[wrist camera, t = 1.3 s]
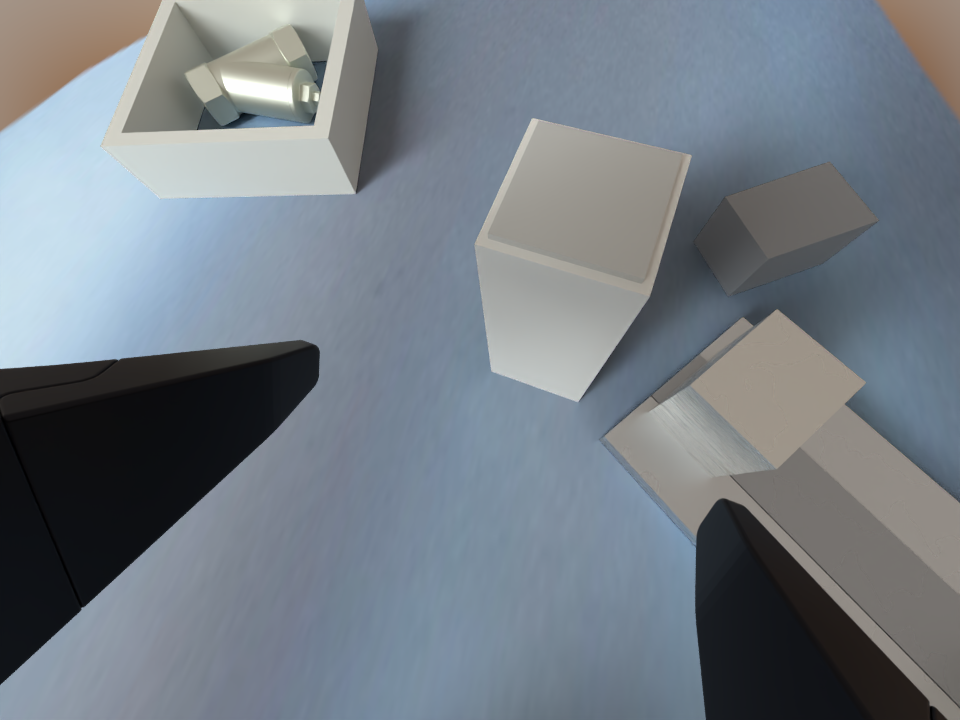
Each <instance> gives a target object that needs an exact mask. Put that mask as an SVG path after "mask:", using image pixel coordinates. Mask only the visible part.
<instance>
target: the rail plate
mask: <svg viewBox="0 0 960 720" xmlns="http://www.w3.org/2000/svg"><path fill="white" fill-rule="evenodd" d="M865 384H866V382H865V381H864V380H862V379H861V378H860V377H859V376H858V375H856V374H855V373H854V372H853V371H852V370H850V369H849V368H848V367H847V366H845V365H844V364H843V363H842V362H841V361H839V360H838V359H837V358H836V357H835V356H833V355H832V354H831V353H830V352H829V351H827V350H826V349H825V348H824V347H822V346H821V345H820V344H819V343H818V342H816V341H815V340H814V339H813V338H812V337H810V336H809V335H808V334H807V333H806V332H804V331H803V330H802V329H801V328H799V327H798V326H797V325H796V324H795V323H793V322H792V321H791V320H790V319H789V318H787V317H786V316H785V315H784V314H782V313H781V312H780V311H779V310H778V309H776V310H775V311H774V312H772V313H771V314H770V315H768V316H767V317H765V318H764V319H763V320H761V321H760V322H759V323H757V324H756V325H754V326H753V325H752V324H751V323H749V322H748V321H747V320H746V319H745V318H744V317H742V318H741V319H740V320H738V321H737V322H736V323H735V324H733V325H732V326H731V327H730V328H729V329H727V330H726V331H725V332H724V333H723V334H722V335H720V336H719V337H718V338H717V339H716V340H715V341H714V342H712V343H711V344H710V345H709V346H708V347H707V348H705V349H704V350H703V351H702V352H701V353H700V354H698V355H697V356H696V357H695V358H694V359H693V360H691V361H690V362H689V363H688V364H687V365H686V366H685V367H683V368H682V369H681V370H680V371H679V372H678V373H676V374H675V375H674V376H673V377H672V378H671V379H669V380H668V381H667V382H666V383H665V384H664V385H662V386H661V387H660V388H659V389H658V390H657V391H655V392H654V393H653V394H652V395H651V396H650V397H649V398H647V399H646V400H645V401H644V402H643V403H642V404H640V405H639V406H638V407H637V408H636V409H635V410H633V411H632V412H631V413H630V414H629V415H628V416H626V417H625V418H624V419H623V420H622V421H621V422H620V423H618V424H617V425H616V426H615V427H614V428H613V429H611V430H610V431H609V432H608V433H607V434H606V435H604V436H603V437H602V438H601V439H600V441H601V442H602V443H603V444H604V446H605V447H606V448H607V449H608V450H609V451H610V452H611V453H612V454H613V456H614V457H615V458H616V459H617V460H618V461H619V462H620V463H621V464H622V466H623V467H624V468H625V469H626V470H627V471H628V472H629V473H630V474H631V475H632V477H633V478H634V479H635V480H636V481H637V482H638V483H639V484H640V485H641V487H642V488H643V489H644V490H645V491H646V492H647V493H648V494H649V495H650V497H651V498H652V499H653V500H654V501H655V502H656V503H657V504H658V505H659V507H660V508H661V509H662V510H663V511H664V512H665V513H666V514H667V515H668V517H669V518H670V519H671V520H672V521H673V522H674V523H675V524H676V525H677V527H678V528H679V529H680V530H681V531H682V532H683V533H684V534H685V535H686V536H687V538H688V539H689V540H690V541H691V542H692V543H693V544H694V545H695V546H696V535H697V531H698V528H699V526H700V524H701V522H702V521H703V520H704V518H705V517H706V515H707V514H708V512H709V511H710V509H711V508H712V506H713V505H714V504H715V502H716V501H717V500H718V499H721V498H726V499H728V500H731V501H734V502H736V503H739V504H742V505H744V506H745V507H746V508H747V509H748V510H749V511H750V512H751V513H752V514H753V515H754V516H755V517H756V518H757V519H758V520H759V522H760V523H761V524H762V525H763V526H764V527H765V528H766V529H767V530H768V531H769V532H770V533H771V534H772V535H773V536H774V537H775V538H776V539H777V540H778V542H779V543H780V544H781V545H782V546H783V547H784V548H785V549H786V550H787V551H788V552H789V553H790V554H791V555H792V556H793V557H794V558H795V559H796V561H797V562H798V563H799V564H800V565H801V566H802V567H803V568H804V569H805V570H806V571H807V572H808V573H809V574H810V575H811V576H812V577H813V578H814V580H815V581H816V582H817V583H818V584H819V585H820V586H821V587H822V588H823V589H824V590H825V591H826V592H827V593H828V594H829V595H830V596H831V597H832V598H833V600H834V601H835V602H836V603H837V604H838V605H839V606H840V607H841V608H842V609H843V610H844V611H845V612H846V613H847V614H848V615H849V616H850V617H851V618H852V620H853V621H854V622H855V623H856V624H857V625H858V626H859V627H860V628H861V629H862V630H863V631H864V632H865V633H866V634H867V635H868V636H869V637H870V639H871V640H872V641H873V642H874V643H875V644H876V645H877V646H878V647H879V648H880V649H881V650H882V651H883V652H884V653H885V654H886V655H887V656H888V657H889V659H890V660H891V661H892V662H893V663H894V664H895V665H896V666H897V667H898V668H899V669H900V670H901V671H902V672H903V673H904V674H905V675H906V676H907V677H908V679H909V680H910V681H911V682H912V683H913V684H914V685H915V686H916V687H917V688H918V689H919V690H920V691H921V692H922V693H923V694H924V695H925V696H926V698H927V699H928V700H929V702H930V706H934V707H936V708H937V709H938V710H939V711H940V712H941V713H942V714H943V715H944V716H945V717H946V718H947V720H960V503H959V502H958V501H957V500H956V499H955V498H953V497H952V496H951V495H950V494H949V493H948V492H946V491H945V490H944V489H943V488H942V487H941V486H939V485H938V484H937V483H936V482H935V481H934V480H932V479H931V478H930V477H929V476H928V475H927V474H925V473H924V472H923V471H922V470H921V469H920V468H918V467H917V466H916V465H915V464H914V463H913V462H911V461H910V460H909V459H908V458H907V457H906V456H904V455H903V454H902V453H901V452H900V451H899V450H897V449H896V448H895V447H894V446H893V445H892V444H890V443H889V442H888V441H887V440H886V439H885V438H883V437H882V436H881V435H880V434H879V433H878V432H876V431H875V430H874V429H873V428H872V427H871V426H869V425H868V424H867V423H866V422H865V421H864V420H862V419H861V418H860V417H859V416H858V415H857V414H855V413H854V412H853V411H852V410H851V409H850V408H848V407H847V406H846V405H845V403H846V402H847V401H848V400H849V399H850V398H851V397H852V396H853V395H854V394H855V393H856V392H857V391H858V390H859V389H860V388H861V387H862V386H864V385H865Z"/></svg>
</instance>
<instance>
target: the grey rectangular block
mask: <svg viewBox="0 0 960 720" xmlns="http://www.w3.org/2000/svg"><path fill="white" fill-rule="evenodd" d="M878 221H879V220H878V219H877V217H876V216H875V215H874V214H873V213H872V211H871V210H870V209H869V208H868V207H867V205H866V204H865V203H864V202H863V201H862V199H861V198H860V197H859V196H858V195H857V193H856V192H855V191H854V190H853V189H852V188H851V186H850V185H849V184H848V183H847V182H846V180H845V179H844V178H843V177H842V176H841V174H840V173H839V172H838V171H837V170H836V168H835V167H834V166H833V165H832V164H831V162H827V163H824V164H821V165H818V166H815V167H812V168H809V169H806V170H803V171H800V172H797V173H794V174H791V175H789V176H786V177H783V178H780V179H777V180H774V181H771V182H768V183H765V184H762V185H759V186H756V187H753V188H750V189H747V190H744V191H741V192H738V193H735V194H732V195H729V196H726V197H725V198H724V199H723V201H722V202H721V203H720V205H719V206H718V208H717V209H716V210H715V212H714V213H713V215H712V216H711V218H710V219H709V220H708V222H707V223H706V225H705V226H704V228H703V229H702V230H701V232H700V233H699V235H698V236H697V237H696V239H695V240H694V243H695V245H696V246H697V248H698V250H699V251H700V253H701V254H702V256H703V258H704V259H705V261H706V262H707V264H708V266H709V267H710V269H711V270H712V272H713V274H714V275H715V277H716V278H717V280H718V282H719V283H720V285H721V286H722V288H723V290H724V291H725V293H726V294H727V296H728V297H729V296H732V295H735V294H738V293H741V292H743V291H746V290H749V289H752V288H755V287H758V286H761V285H763V284H766V283H769V282H772V281H775V280H778V279H781V278H783V277H786V276H789V275H792V274H795V273H798V272H801V271H803V270H806V269H809V268H812V267H815V266H818V265H821V264H823V263H824V262H826V261H827V260H828V259H830V258H831V257H832V256H834V255H835V254H836V253H837V252H839V251H840V250H841V249H843V248H844V247H845V246H847V245H848V244H849V243H851V242H852V241H853V240H854V239H856V238H857V237H858V236H860V235H861V234H862V233H864V232H865V231H866V230H868V229H869V228H870V227H871V226H873V225H874V224H875V223H877V222H878Z"/></svg>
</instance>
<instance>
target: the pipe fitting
mask: <svg viewBox="0 0 960 720" xmlns="http://www.w3.org/2000/svg"><path fill="white" fill-rule="evenodd" d="M184 74H185V77H186V78H187V80H188V82H189V83H190V85H191V87H192V88H193V90H194V91H195V93H196V94H197V96H198V97H199V99H200V100H201V101H202V103H203V104H204V106H205V107H206V108H207V110H208V111H209V112H210V114H211V115H212V116H213V118H214V119H215V120H216V121H217V122H218V123H219V124H220V125H221V126H224V125H226V124H228V123H230V122H232V121H234V120H236V119H238V118H239V117H240V114H242V113H249V114H255V115H261V116H267V117H272V118H278V119H284V120H290V121H296V122H301V123H310V122H311V120H312V118H313V115H314V113H317V109H318V104H319V99H320V95H321V92H320V90H319V88H318V86H317V85H316V83H314V81H316V80H317V79H318V78H317V73H316V71H315V68H314V66H313V64H312V62H311V60H310V57H309V55H308V53H307V51H306V50H305V48H304V46H303V44H302V42H301V40H300V38H299V37H298V35H297V33H296V32H295V30H294V29H293V27H292V26H291V25H290V24H286V25H284V26H282V27H280V28H277V29H275V30H273V31H271V32H269V35H267V36H264V37H262V38H260V39H258V40H256V41H254V42H252V43H249V44H247V45H245V46H243V47H241V48H239V49H237V50H234V51H232V52H230V53H228V54H226V55H224V56H222V57H219V58H217V59H215V60H213V61H211V62H209V63H203V64H200V65H198V66H196V67H194V68H192V69H190V70H188V71H186V72H185V73H184Z"/></svg>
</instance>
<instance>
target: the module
mask: <svg viewBox="0 0 960 720" xmlns="http://www.w3.org/2000/svg"><path fill="white" fill-rule="evenodd" d="M691 157H692V155H689V154H684V153H680V152H676V151H671V150H667V149H663V148H659V147H654V146H650V145H646V144H641V143H637V142H633V141H628V140H624V139H620V138H616V137H611V136H607V135H603V134H598V133H594V132H590V131H585V130H581V129H577V128H572V127H568V126H564V125H560V124H555V123H551V122H547V121H542V120H538V119H534V118H532V120H531V122H530V124H529V127H528V129H527V131H526V133H525V135H524V138H523V140H522V142H521V144H520V146H519V148H518V151H517V153H516V155H515V157H514V159H513V161H512V164H511V166H510V168H509V170H508V172H507V175H506V177H505V179H504V181H503V183H502V185H501V188H500V190H499V192H498V194H497V196H496V198H495V201H494V203H493V205H492V207H491V209H490V212H489V214H488V216H487V218H486V220H485V222H484V225H483V227H482V229H481V231H480V233H479V236H478V238H477V240H476V242H475V252H476V259H477V267H478V274H479V282H480V289H481V297H482V304H483V312H484V319H485V327H486V334H487V342H488V349H489V357H490V364H491V371H492V372H495V373H497V374H500V375H503V376H506V377H509V378H511V379H514V380H517V381H520V382H523V383H526V384H528V385H531V386H534V387H537V388H540V389H542V390H545V391H548V392H551V393H554V394H557V395H559V396H562V397H565V398H568V399H571V400H573V401H576V402H579V400H580V399H581V397H582V396H583V394H584V393H585V391H586V390H587V388H588V387H589V385H590V384H591V383H592V381H593V380H594V378H595V377H596V375H597V374H598V372H599V371H600V369H601V368H602V366H603V365H604V363H605V362H606V361H607V359H608V358H609V356H610V355H611V353H612V352H613V350H614V349H615V347H616V346H617V344H618V343H619V341H620V340H621V338H622V337H623V336H624V334H625V333H626V331H627V330H628V328H629V327H630V325H631V324H632V322H633V321H634V319H635V318H636V316H637V315H638V314H639V312H640V311H641V309H642V308H643V306H644V305H645V303H646V302H647V300H648V299H649V297H650V295H651V292H652V288H653V285H654V281H655V278H656V275H657V271H658V268H659V265H660V261H661V258H662V254H663V251H664V248H665V244H666V241H667V238H668V234H669V231H670V227H671V224H672V221H673V217H674V214H675V211H676V207H677V204H678V200H679V197H680V194H681V190H682V187H683V184H684V180H685V177H686V173H687V170H688V167H689V163H690V160H691Z"/></svg>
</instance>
